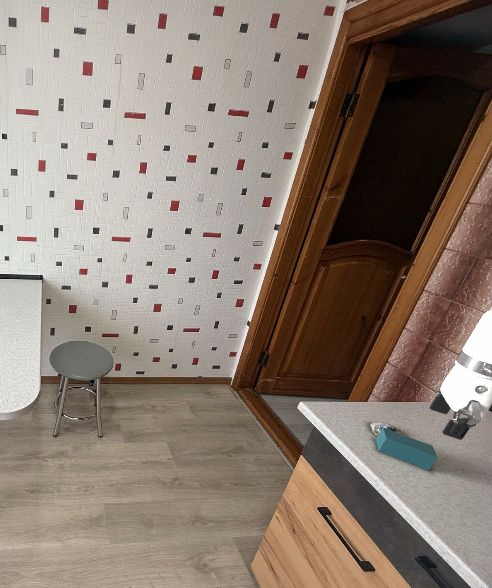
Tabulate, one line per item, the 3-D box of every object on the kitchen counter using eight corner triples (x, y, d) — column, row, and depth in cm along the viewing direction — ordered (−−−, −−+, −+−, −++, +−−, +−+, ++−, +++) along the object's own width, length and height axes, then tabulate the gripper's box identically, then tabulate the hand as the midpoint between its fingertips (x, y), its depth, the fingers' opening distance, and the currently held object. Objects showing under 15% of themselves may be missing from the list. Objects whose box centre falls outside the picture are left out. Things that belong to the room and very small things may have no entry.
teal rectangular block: (423, 458, 86) (432, 445, 84) (429, 470, 82) (438, 457, 80) (375, 439, 90) (382, 427, 89) (378, 450, 87) (386, 438, 85)
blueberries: (408, 438, 92) (411, 433, 91) (390, 445, 89) (393, 440, 88) (381, 421, 97) (384, 416, 97) (363, 426, 95) (366, 421, 94)
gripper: (528, 392, 64) (481, 455, 71) (489, 352, 78) (452, 409, 85) (474, 377, 68) (434, 439, 75) (445, 342, 82) (414, 397, 88)
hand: (444, 423), depth 80 cm, fingers open, 9 cm apart
